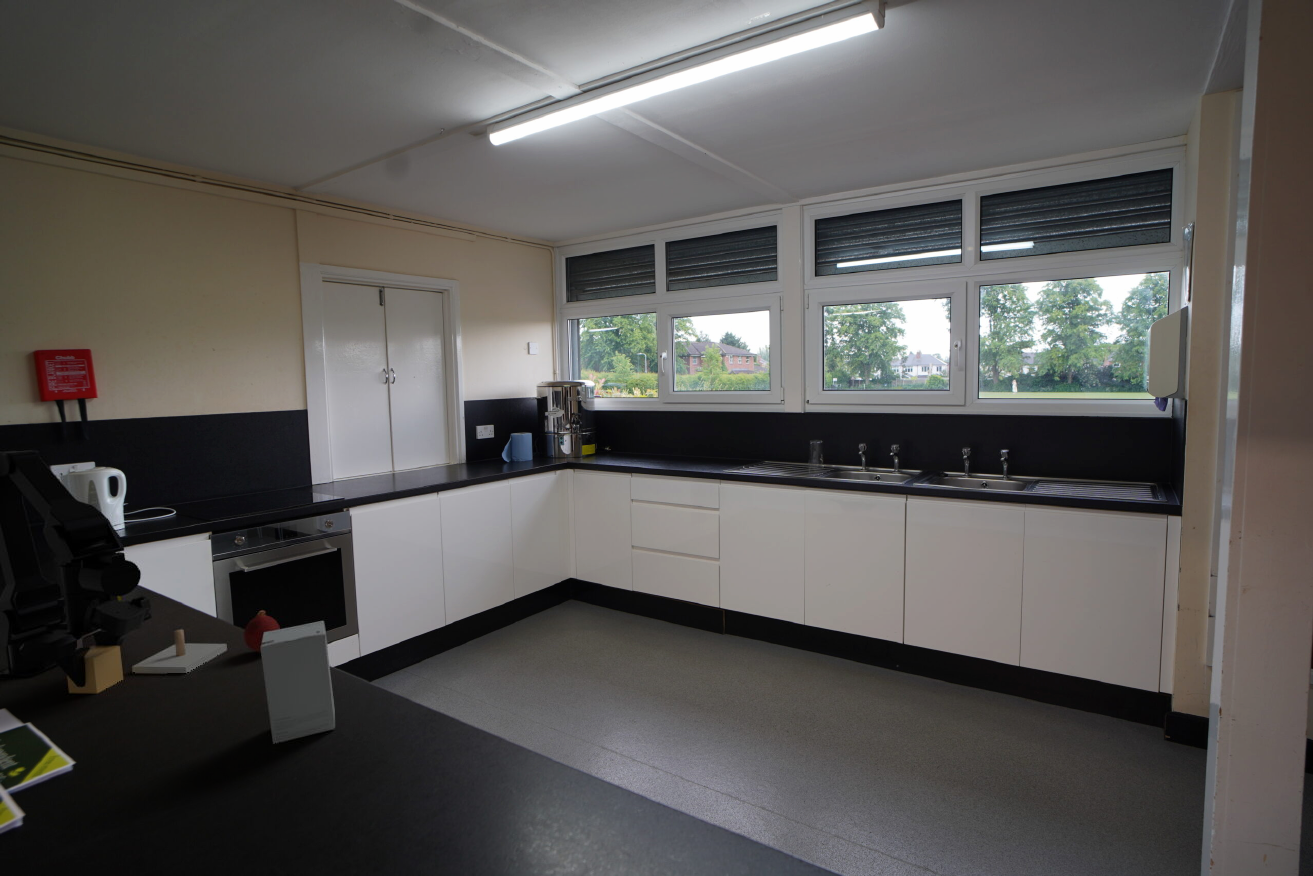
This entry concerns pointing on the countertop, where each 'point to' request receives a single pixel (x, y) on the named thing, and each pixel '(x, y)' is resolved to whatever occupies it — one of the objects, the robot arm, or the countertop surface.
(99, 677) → the cardboard carton
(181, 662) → the post plate
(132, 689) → the countertop surface
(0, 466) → the robot arm
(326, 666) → the skincare box
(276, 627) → the onion
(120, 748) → the countertop surface
